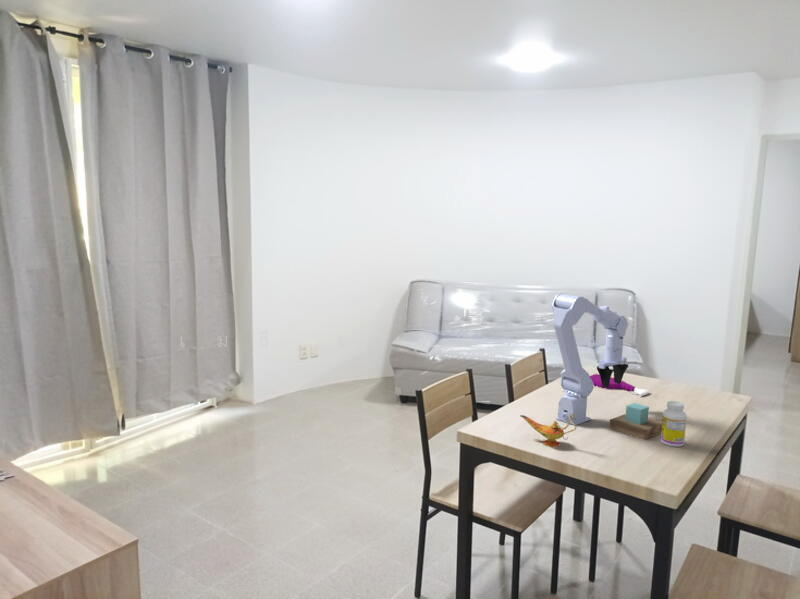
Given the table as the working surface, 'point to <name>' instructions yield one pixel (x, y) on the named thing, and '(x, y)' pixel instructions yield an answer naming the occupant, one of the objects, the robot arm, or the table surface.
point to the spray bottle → (617, 385)
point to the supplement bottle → (674, 424)
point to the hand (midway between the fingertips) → (611, 384)
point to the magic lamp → (549, 431)
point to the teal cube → (637, 413)
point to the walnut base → (636, 427)
